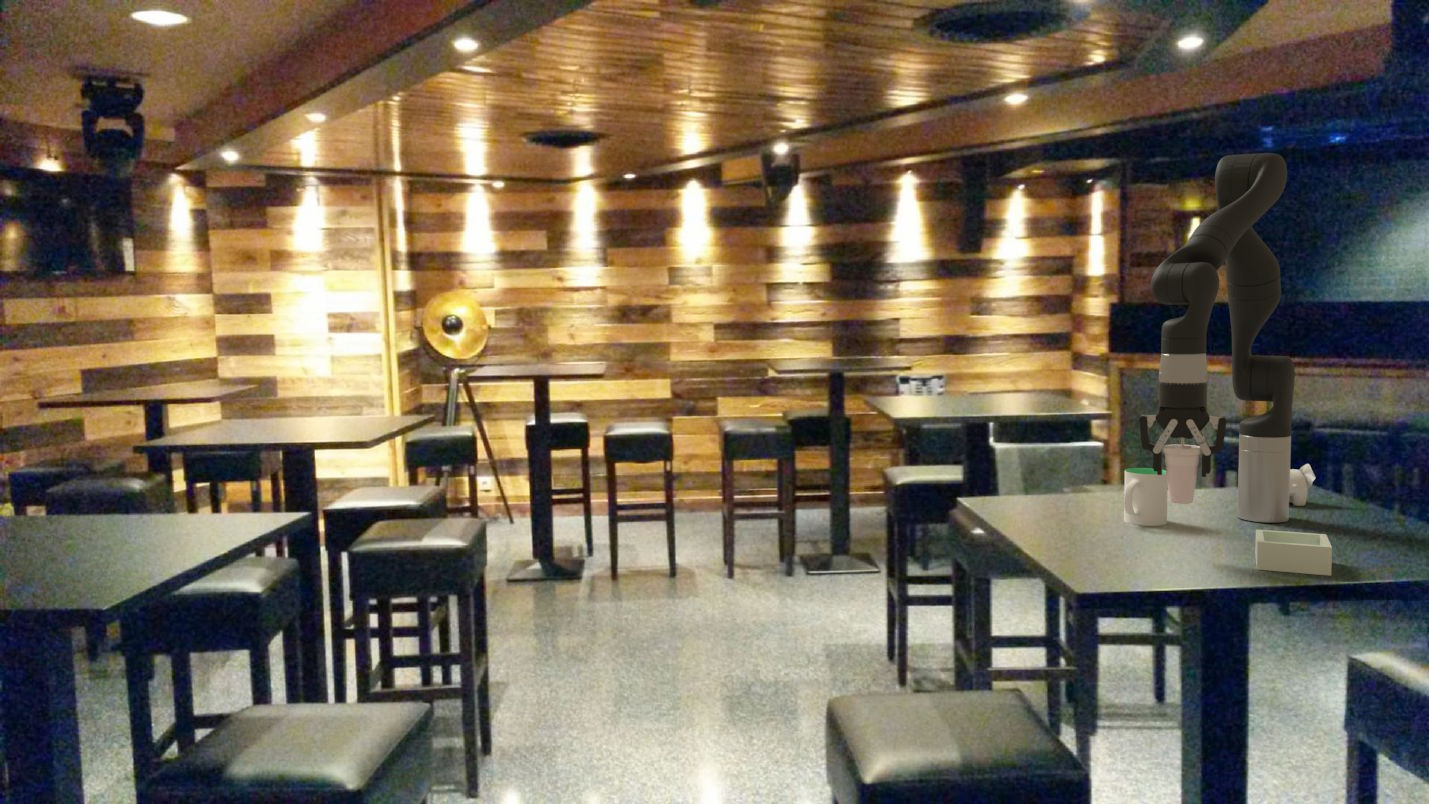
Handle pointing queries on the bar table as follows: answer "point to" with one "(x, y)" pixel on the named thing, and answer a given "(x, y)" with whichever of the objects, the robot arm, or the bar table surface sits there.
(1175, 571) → the bar table surface
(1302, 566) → the bin
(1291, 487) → the elephant figurine
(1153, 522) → the mug
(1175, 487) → the smoothie
